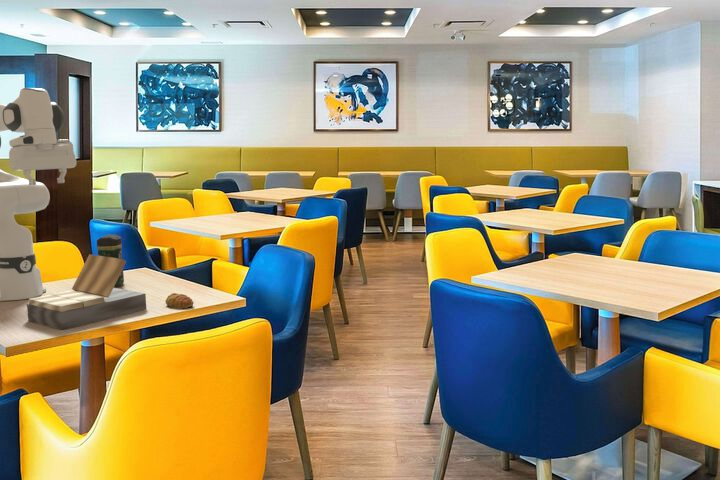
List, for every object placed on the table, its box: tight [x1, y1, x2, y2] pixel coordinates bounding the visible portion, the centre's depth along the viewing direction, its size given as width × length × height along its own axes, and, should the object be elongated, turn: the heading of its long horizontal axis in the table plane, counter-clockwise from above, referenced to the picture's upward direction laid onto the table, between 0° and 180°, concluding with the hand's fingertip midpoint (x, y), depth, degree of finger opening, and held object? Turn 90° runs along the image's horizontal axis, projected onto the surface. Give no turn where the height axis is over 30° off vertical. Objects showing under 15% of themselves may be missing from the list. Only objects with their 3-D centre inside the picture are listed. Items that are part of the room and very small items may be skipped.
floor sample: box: [26, 287, 147, 331], centre depth 208 cm, size 18×28×7 cm, turn 144°
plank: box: [71, 253, 127, 298], centre depth 210 cm, size 17×12×2 cm
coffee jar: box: [96, 234, 125, 288], centre depth 250 cm, size 10×8×19 cm
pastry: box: [165, 292, 195, 309], centre depth 218 cm, size 9×7×4 cm
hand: (47, 184), depth 217 cm, fingers open, 8 cm apart
